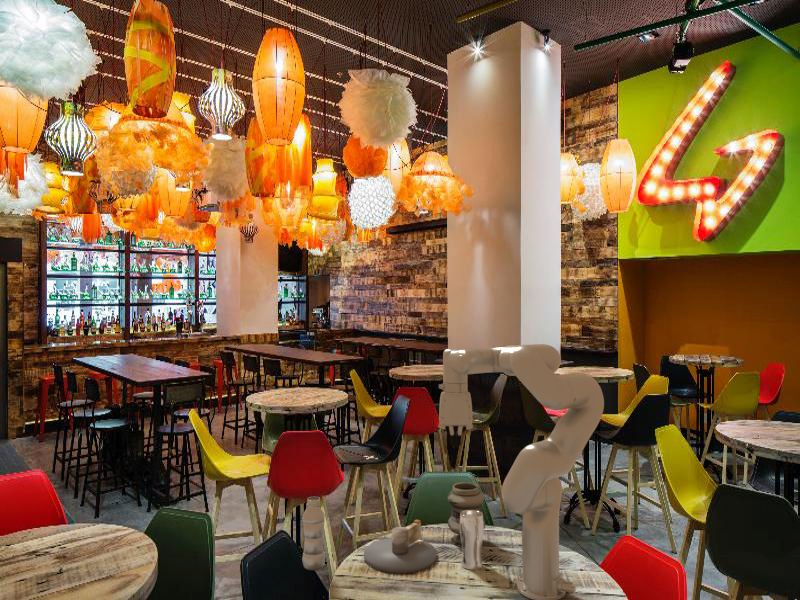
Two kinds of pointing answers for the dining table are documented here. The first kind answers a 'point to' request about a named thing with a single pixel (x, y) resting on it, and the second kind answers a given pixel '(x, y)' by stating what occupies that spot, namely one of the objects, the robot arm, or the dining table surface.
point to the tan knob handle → (405, 537)
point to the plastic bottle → (313, 535)
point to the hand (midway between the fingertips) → (455, 447)
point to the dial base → (400, 557)
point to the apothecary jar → (463, 505)
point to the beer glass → (471, 538)
